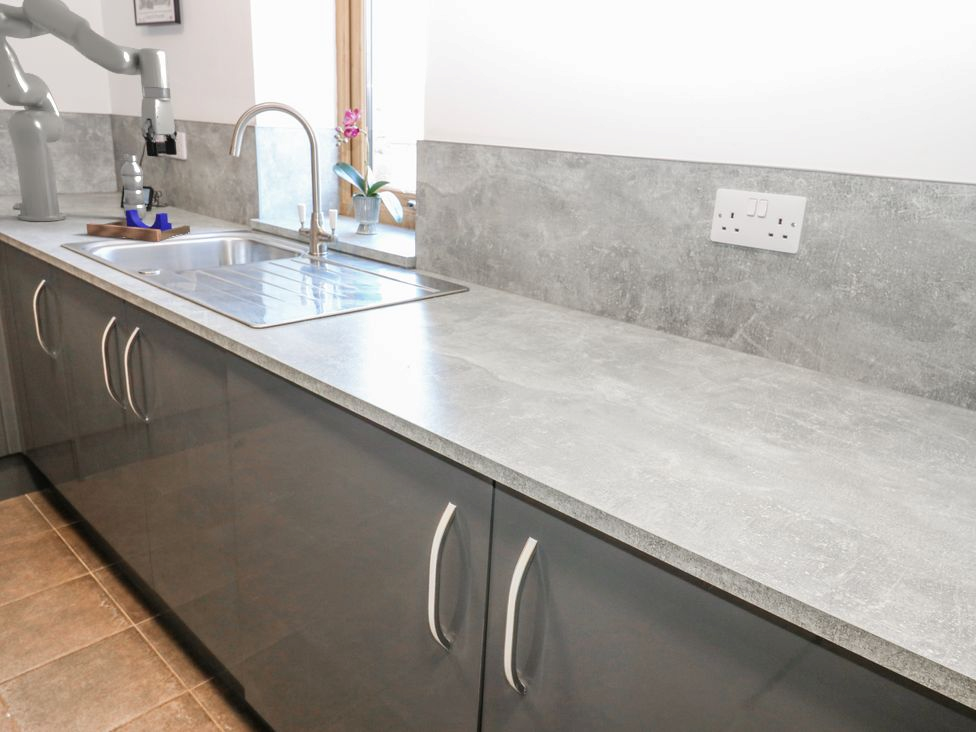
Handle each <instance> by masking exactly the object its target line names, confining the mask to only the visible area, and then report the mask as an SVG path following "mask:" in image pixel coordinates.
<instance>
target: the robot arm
mask: <svg viewBox="0 0 976 732" xmlns="http://www.w3.org/2000/svg"><path fill="white" fill-rule="evenodd" d="M49 34H50V35H52V36H54V37H56V38H57V39H59V40H61V41H63V42H64V43H66V44H68V45H69V46H71V47H73V48H74V50H75V51H77V52H79V54H81V55H82V56H83V57H85V58H86V59H88V60H89V61H91V62H93V63H95V64H96V65H98V66H100V67H101V68H103V69H105V70H106V71H109V72H111V73H114V74H117V75H125V76H139V75H140V84H141V94H142V99H141V109H140V110H141V111H140V112H141V113H140V114H141V125H140V131H141V133H142V137H143V138H144V142H145V147H146V155H147V157H159V150H158V149H159V148H158V142H157V141H156V140H157V138H158V136H164V139H165V140H164V145H165V154H166V155H167V156H169V155H171V156H177V154H178V153H177V143H176V141H177V135H178V128H179V127H178V125H177V124H176V123H175V119H174V118H175V117H174V111H173V107H172V102H171V99H172V97H171V89H170V86H171V85H170V78H169V77H170V76H169V67H168V56H167V53H166V52H165V51H164V50H163V49H160V48H150V47H149V48H147V47H146V48H145V47H144V48H141V49H138V48H135V47H130V46H125V45H118V44H116V43H114V42H112V41H111V40H108V38H105V37H104V36H102V35H101V34H99V33H97V32H96V31H94V30H93V29H92V27H91V24H90V22H89V21H88V20H87V19H86V18H84V17H82V16H81V15H79V14H77V13H75V12H74V11H72V10H71V9H70V8H69V6H68V5H67V4H66V3H65V2H64V1H62V0H23V1H22V6H13V5H11V4H10V5H9V4H6V3H1V2H0V99H1V101H3V103H5V104H7V105H9V106H13V107H23V108H24V109H22V110H18V111H16V112H14V113H12V115H10V118H9V119H8V122H7V129H8V133H9V137H10V139H11V142H12V147H13V149H14V155H15V160H16V167H17V174H18V175H17V176H18V182H19V191H20V196H21V198H20V199H21V202H16V203H14V205H12V210H13V211H19V212H20V213H19V214H17V217H18V218H17V219H18V220H22V221H25V222H26V221H27V222H52V221H53V222H55V221H61V220H65V219H66V218H67V217H66V216H67V215H66V214H65V213H62V212H60V205H59V199H58V198H59V197H58V190H57V189H58V188H57V182H56V174H55V167H54V165H55V164H54V159H53V155H52V152H51V149H50V148H49V145H48V144H49V143H55V142H58V141H60V140H61V139H62V137H64V134H65V125H64V121H63V118H62V116H61V113H60V110H59V108H58V106H57V104H56V101H55V98H54V97H53V94H52V93H51V92H52V91H51V90H50V87H49V86H48V85H47V84H46V82H45V81H44V80H43V79H42V78H41V77H39V76H38V75H36V74H33V73H30V72H25V71H24V69H23V67H22V65H21V63H20V60H19V57H18V55H17V54H16V52H15V50H14V49H13V47H12V46H11V45H10V44H9V42H8V41H7V39H6V38H7V37H8V38H13V39H23V40H25V39H31V38H36V37H39V36H45V35H49Z"/></svg>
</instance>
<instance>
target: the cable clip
mask: <svg viewBox="0 0 976 732" xmlns="http://www.w3.org/2000/svg"><path fill="white" fill-rule="evenodd" d="M125 217H126V219H125V220H126V221H127V227H138V228H149V229H159V230H161V231H165V230H169V229H173V227H172V222H169V220H168V218H169V216H168V213H167V212H159V213H156V214H155V219H154V222H153V224H151V226H150V225H147V224H146V223H144V222H143V221H142V219H140V218H139V215H138V212H137V210H134V209H132V210H126V216H125Z"/></svg>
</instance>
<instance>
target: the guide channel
mask: <svg viewBox="0 0 976 732" xmlns="http://www.w3.org/2000/svg"><path fill="white" fill-rule="evenodd" d="M85 225H86V231H87V235H89V236H96V235H99V236H98V237H106V236H114V237H113V238H116V237H125V238H124V239H127V238H135V239H134V240H137V239H142V240H141V241H149V242H150V241H151V242H160V241H164V240H168V239H167V238H169V237H172V236H176V235H180V234H183V235H186V234H185V233H187V234H189V233H188V232H190V233H191V228H190V227H191V226H190V225H181V226H177V227H172V229H169V230H165V231H161V230H159V229H149V228H138V227H127V221H126V219H123V220H116V221H111V222H107V223H93V222H91V223H86V224H85ZM180 236H181V235H180ZM176 237H177V236H176ZM172 238H173V237H172ZM169 239H170V238H169Z"/></svg>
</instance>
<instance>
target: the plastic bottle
mask: <svg viewBox="0 0 976 732" xmlns="http://www.w3.org/2000/svg"><path fill="white" fill-rule="evenodd" d="M123 161H125V162H124V164H123V165H122V167H121V169H120V175H121V176H120V177H121V180H122V184H123V192H124V205H123V213H124V214H123V215H124V216H125V217H126V210H132V209H134V210H137V212H138V215H139V218H140V219H141V220H142V219H145V218H146V216H147V212H148V211H147V207H146V204H145V197H144V190H143V189H144V187H143V186H144V171H143V168H142V167H141V165H140V164H139V163H138V155H137V154H130V153H129V154H127V153H125V154H123Z"/></svg>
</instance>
